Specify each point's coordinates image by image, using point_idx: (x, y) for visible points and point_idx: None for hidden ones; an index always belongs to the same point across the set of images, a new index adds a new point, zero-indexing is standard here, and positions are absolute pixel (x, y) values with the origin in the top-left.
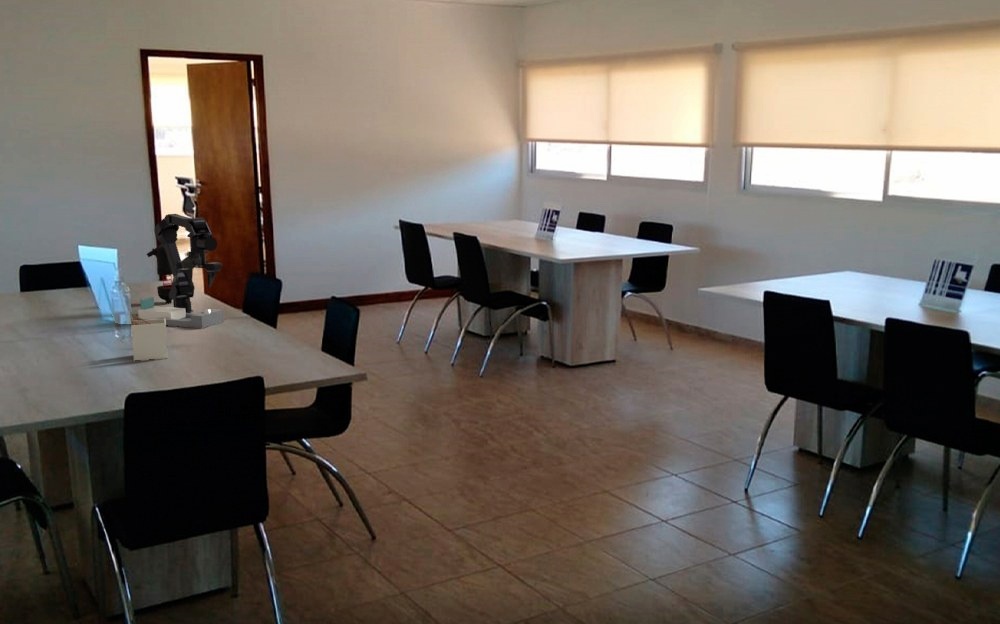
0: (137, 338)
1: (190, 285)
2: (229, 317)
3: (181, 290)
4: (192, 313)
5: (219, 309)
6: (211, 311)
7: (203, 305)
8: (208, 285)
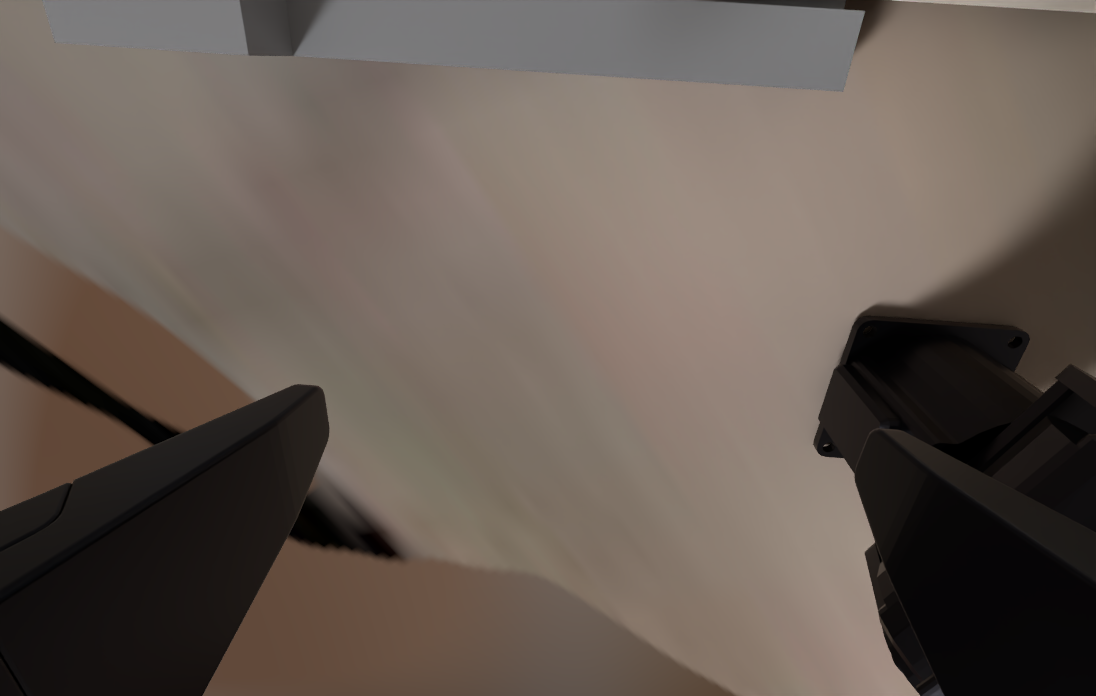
0: None
1: (869, 443)
2: (304, 289)
3: (1064, 460)
4: (619, 67)
5: (115, 42)
6: None
7: (827, 648)
8: (287, 397)
